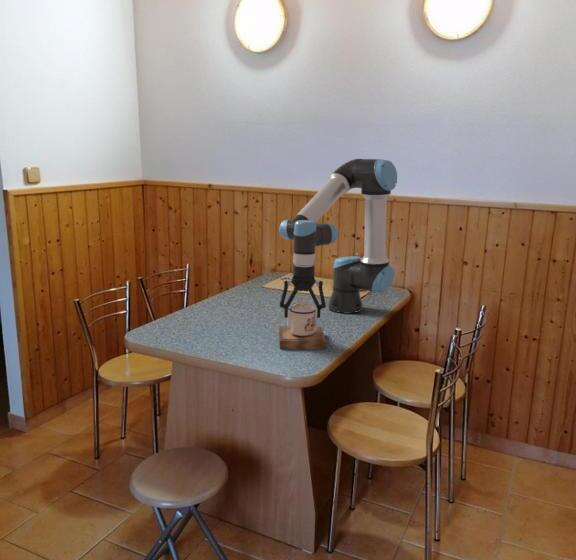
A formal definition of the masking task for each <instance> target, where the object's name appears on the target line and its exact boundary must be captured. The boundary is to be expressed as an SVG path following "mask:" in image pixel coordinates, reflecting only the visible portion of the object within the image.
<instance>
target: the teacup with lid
mask: <svg viewBox="0 0 576 560" xmlns="http://www.w3.org/2000/svg"><path fill="white" fill-rule="evenodd" d="M289 308H290V332H291V333H292V334H294V335H298V336H308V335H311V334H313V333H314V323H315V311H316V310H315V308H316V306H313V305H311V304H309V303H307V302H306V300H300V301H299V303H297V304H293V305H291V306H290V307H289Z"/></svg>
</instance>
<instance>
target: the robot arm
mask: <svg viewBox="0 0 576 560" xmlns="http://www.w3.org/2000/svg"><path fill="white" fill-rule="evenodd" d="M397 171H398V170H397V168H396V166H395V165H394V163H393V162H392V161H390V160H388V159H381V158H378V159H377V158H368V159H367V158H354V159H351V160H349V161H346V162H345V163H343V164H341V166H339V167H338V168H337V169H335V170H334V171H333V172H332V173H331V174H330V175H329V177H328V181H327V182H326V183H325V184H324V185H323V186H322V187H321V189H319V190H318V192H317V193H316V194H314V196H313V197H312V198H311V199H310V200H309V201H308V202H307V203H306V204H305V206H304V207H303V208H302V209H301V210H300V211H299V212H298V213H297V214H296V215H295V216H294V217H293V218H292V219H290V218H289V219H284V220H283V221H281V223H280V225H279V227H278V229H279V235H280V237H281V238H282V239H284V240H288V241H293V260H292V261H293V263H292V264H294V265H293V266H292V268H293V269H292V278H291V279H284V280H283V284H284V286H283V290H282V293H281V297H280V301H279V307H280V308H282V309H284V313H283V314H284V318H285V319H287V320H286V321H287V322H286V325H287V327H290V315H291V311H290V308H291V306H290V305H291V304H292V302H293V300H294V299H295V296H296V295H297V294H298V293H299V292H302V291H304V292H309V294H310V296H311V298H312V300H313V302H314V304H315V310H316V311H315V323H314V327H315V328H317V327H318V319H320V318H321V310H322V309H326V308H329V309H331V310H334V311H339V312H355V311H359V310H361V309H362V308H363V307H364V305H363V301H362V297H361V294H360V290H363V291H369V292H372V293H379V294H383V293H385V292H387V291H388V290H389V289H390V287H391V286H392V284H393V282H394V278H395V269H394V267H393V266H391V265H390V259H389V258H387V256H386V245H387V243H386V242H387V241H386V239H387V237H386V236H387V235H386V234H387V208H388V207H387V204H388V203H387V202H388V198H389V196H390V195H391V194H392V191H393V190H394V189H395V188H396V186H397V185H396V184H397V183H398V172H397ZM357 188H358V189H361V196H362V197H363V198H364V243H363V244H364V247H363V248H364V249H363V250H364V251H363V253H364V254H363V256H362V257H361V256H355V255H354V256H353V255H351V256H350V255H349V256H340V257H337V258H335V259H334V261H333V263H334V264H333V278H332V292H331V295H330V298H329V299H328V303H327V305H326V301H325V297H324V296H325V295H324V291H323V285H324V282H323V280H322V279H316V278H315V263H316V247H320V246H328V245H331V244H334V243H335V242H336V241H337V239H338V237H339V230H338V228H337V227H336V226H335V225H334V224H332V223H317V222H318V221H319V220H320V219H321V218H322V217H323V216H324V215H325V214H326V213H327V211H329V210H330V208H331V207H332V206H333V205H334V204H335V202H337V201H338V199H339V198H340V197H341V196H342V195H343V194H347V193H348V192H349V191H350V190H352V189H357ZM291 284H292V285H293V289H292V291H291V293H290V295H289V297H288V299H287V301H286V297H287V293H288V289H289V287H290V285H291ZM315 284H316V287H318V292H319V297H320V302H319V301H318V299H317V297H316V295H315V293H314V290H313V287H314V285H315ZM285 301H286V302H285ZM320 303H321V304H320ZM329 309H328V310H329ZM331 310H330V311H331ZM334 311H333V312H334Z"/></svg>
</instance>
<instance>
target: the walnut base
mask: <svg viewBox="0 0 576 560" xmlns="http://www.w3.org/2000/svg"><path fill="white" fill-rule="evenodd" d="M278 339H279V340H278V341H279V342H278V343H279V349H280V350H281V349H282V350H283V349H284V350H326V349H327V340H326V336H325V333H324V331H323V327H322V326H317V328H315V327H314V333H313V334H311V335H308V336H298V335H294V334H292V333H291V332H290V327H287V326H285V325H284V326H283V325H282V326H281V325H280V326H278Z"/></svg>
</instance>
